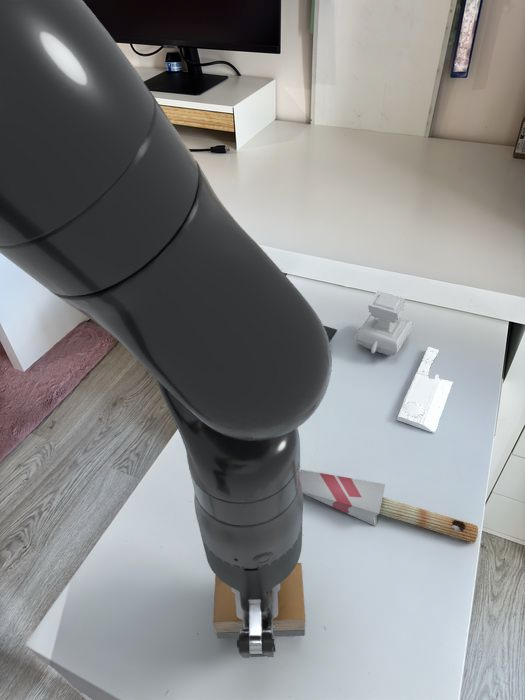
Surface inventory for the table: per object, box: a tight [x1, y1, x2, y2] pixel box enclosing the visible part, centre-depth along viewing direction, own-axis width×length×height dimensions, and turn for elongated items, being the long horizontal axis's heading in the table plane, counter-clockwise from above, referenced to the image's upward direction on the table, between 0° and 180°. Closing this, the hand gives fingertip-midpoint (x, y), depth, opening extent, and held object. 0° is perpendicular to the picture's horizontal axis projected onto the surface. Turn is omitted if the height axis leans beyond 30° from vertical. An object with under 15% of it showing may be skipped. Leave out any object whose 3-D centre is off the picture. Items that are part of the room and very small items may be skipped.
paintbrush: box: [300, 469, 479, 544], centre depth 56 cm, size 4×3×20 cm
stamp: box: [354, 290, 413, 357], centre depth 75 cm, size 9×7×8 cm
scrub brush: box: [212, 562, 306, 639], centre depth 47 cm, size 8×5×4 cm, turn 91°
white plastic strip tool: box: [396, 346, 454, 434], centre depth 70 cm, size 5×15×1 cm, turn 151°
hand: (260, 607), depth 48 cm, fingers closed on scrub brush, 5 cm apart
